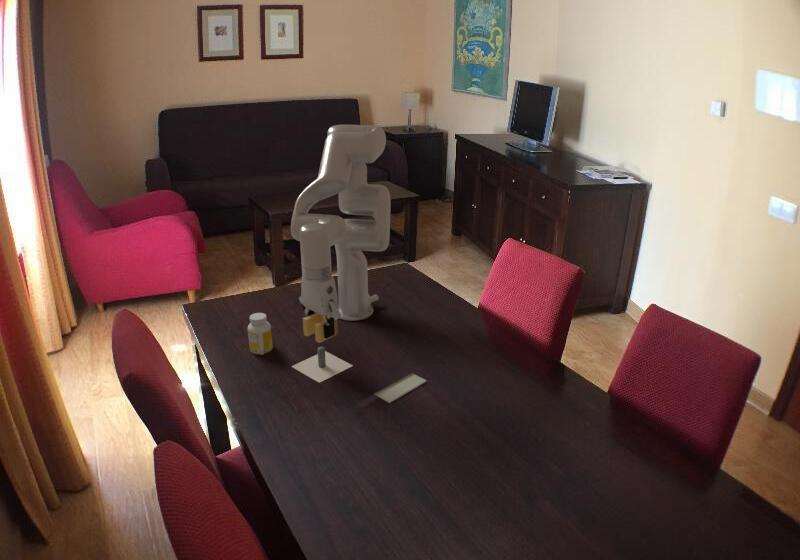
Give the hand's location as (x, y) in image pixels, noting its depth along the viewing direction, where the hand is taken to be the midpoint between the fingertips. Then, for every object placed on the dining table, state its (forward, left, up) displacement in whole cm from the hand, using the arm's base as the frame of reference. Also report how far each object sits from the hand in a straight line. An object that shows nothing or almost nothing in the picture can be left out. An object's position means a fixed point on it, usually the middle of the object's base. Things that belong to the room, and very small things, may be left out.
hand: (320, 331), depth 173 cm
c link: (0, 0, -1) cm, 1 cm away
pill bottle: (+6, -20, -12) cm, 24 cm away
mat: (-8, +18, -11) cm, 23 cm away
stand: (0, 0, -11) cm, 11 cm away
